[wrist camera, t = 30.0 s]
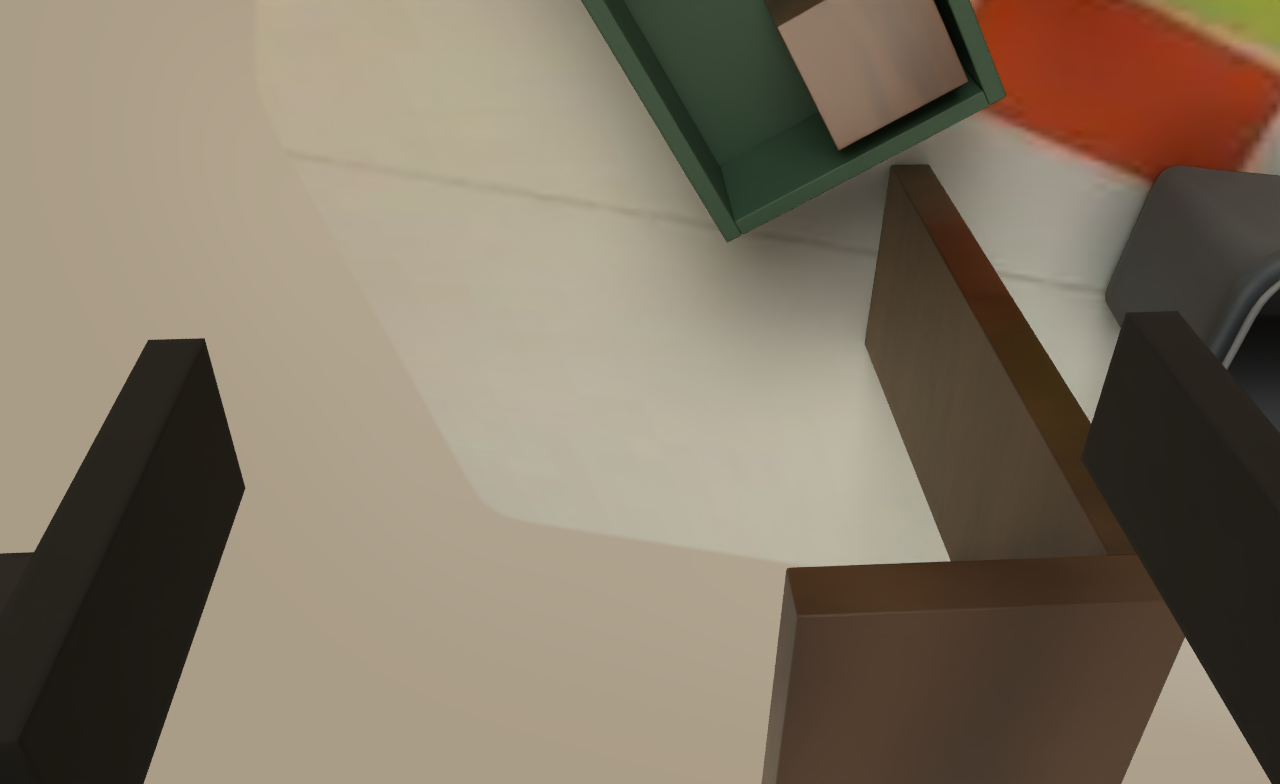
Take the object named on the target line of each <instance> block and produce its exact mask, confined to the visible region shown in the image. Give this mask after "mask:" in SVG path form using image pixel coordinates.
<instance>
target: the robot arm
mask: <svg viewBox="0 0 1280 784" xmlns="http://www.w3.org/2000/svg"><path fill="white" fill-rule="evenodd" d="M1081 460H1082V462H1083V464H1084V466H1085V467H1086V469H1087V471H1088V472H1089V474H1090V476H1091V477H1092V479H1093V481H1094V483H1095V484H1096V486H1097V488H1098V489H1099V491H1100V493H1101V494H1102V496H1103V498H1104V500H1105V501H1106V503H1107V505H1108V506H1109V508H1110V510H1111V511H1112V513H1113V515H1114V517H1115V518H1116V520H1117V522H1118V523H1119V525H1120V527H1121V528H1122V530H1123V532H1124V534H1125V535H1126V537H1127V539H1128V540H1129V542H1130V544H1131V545H1132V547H1133V549H1134V551H1135V552H1136V554H1137V556H1138V557H1139V559H1140V561H1141V562H1142V564H1143V566H1144V567H1145V569H1146V571H1147V573H1148V574H1149V576H1150V578H1151V579H1152V581H1153V583H1154V584H1155V586H1156V588H1157V590H1158V591H1159V593H1160V595H1161V596H1162V598H1163V600H1164V601H1165V603H1166V605H1167V607H1168V608H1169V610H1170V612H1171V613H1172V615H1173V617H1174V618H1175V620H1176V622H1177V624H1178V625H1179V627H1180V629H1181V630H1182V632H1183V634H1184V635H1185V637H1186V639H1187V641H1188V642H1189V644H1190V646H1191V647H1192V649H1193V651H1194V652H1195V654H1196V656H1197V658H1198V659H1199V661H1200V663H1201V664H1202V666H1203V668H1204V669H1205V671H1206V673H1207V674H1208V676H1209V678H1210V680H1211V681H1212V683H1213V685H1214V686H1215V688H1216V690H1217V691H1218V693H1219V695H1220V697H1221V698H1222V700H1223V701H1224V703H1225V705H1226V707H1227V708H1228V710H1229V712H1230V714H1231V715H1232V717H1233V719H1234V720H1235V722H1236V724H1237V725H1238V727H1239V729H1240V731H1241V732H1242V734H1243V736H1244V737H1245V739H1246V741H1247V742H1248V744H1249V746H1250V747H1251V749H1252V751H1253V753H1254V754H1255V756H1256V757H1257V759H1258V761H1259V763H1260V764H1261V766H1262V768H1263V769H1264V771H1265V773H1266V775H1267V776H1268V778H1269V780H1270V781H1271V783H1272V784H1280V433H1279V431H1278V430H1277V429H1276V428H1275V427H1274V426H1273V424H1272V423H1271V422H1270V421H1269V420H1268V418H1267V417H1266V416H1265V415H1264V414H1263V412H1262V411H1261V410H1260V409H1259V408H1258V406H1257V405H1256V404H1255V403H1254V402H1253V400H1252V399H1251V398H1250V397H1249V396H1248V395H1247V393H1246V392H1245V391H1244V390H1243V389H1242V387H1241V386H1240V385H1239V384H1238V383H1237V381H1236V380H1235V379H1234V378H1233V377H1232V375H1231V374H1230V373H1229V372H1228V371H1227V369H1226V368H1225V367H1224V366H1223V365H1222V363H1221V362H1220V361H1219V360H1218V359H1217V358H1216V356H1215V355H1214V354H1213V353H1212V352H1211V350H1210V349H1209V348H1208V347H1207V346H1206V344H1205V343H1204V342H1203V341H1202V340H1201V338H1200V337H1199V336H1198V335H1197V334H1196V332H1195V331H1194V330H1193V329H1192V328H1191V327H1190V325H1189V324H1188V323H1187V322H1186V321H1185V319H1184V318H1183V317H1182V316H1181V315H1180V313H1179V312H1178V311H1162V312H1126V314H1125V317H1124V321H1123V324H1122V327H1121V330H1120V334H1119V337H1118V340H1117V343H1116V347H1115V350H1114V353H1113V356H1112V359H1111V363H1110V366H1109V369H1108V372H1107V376H1106V379H1105V382H1104V385H1103V389H1102V392H1101V395H1100V398H1099V401H1098V405H1097V408H1096V411H1095V414H1094V418H1093V421H1092V424H1091V427H1090V431H1089V434H1088V437H1087V440H1086V443H1085V447H1084V450H1083V453H1082V456H1081ZM244 490H245V485H244V482H243V478H242V474H241V471H240V468H239V464H238V460H237V456H236V452H235V449H234V445H233V441H232V438H231V434H230V431H229V427H228V423H227V419H226V416H225V412H224V408H223V405H222V401H221V397H220V394H219V390H218V386H217V383H216V379H215V375H214V372H213V368H212V364H211V361H210V357H209V354H208V350H207V346H206V342H205V339H170V340H169V339H167V340H148V342H147V344H146V345H145V347H144V349H143V351H142V353H141V355H140V357H139V358H138V360H137V362H136V364H135V366H134V368H133V370H132V371H131V373H130V375H129V377H128V379H127V381H126V383H125V384H124V386H123V388H122V390H121V392H120V394H119V395H118V397H117V399H116V401H115V403H114V405H113V407H112V409H111V410H110V413H109V414H108V416H107V418H106V420H105V422H104V424H103V425H102V427H101V429H100V431H99V433H98V435H97V436H96V438H95V440H94V442H93V444H92V446H91V448H90V450H89V451H88V453H87V455H86V457H85V459H84V461H83V463H82V465H81V466H80V468H79V470H78V472H77V474H76V476H75V478H74V479H73V481H72V483H71V485H70V487H69V489H68V491H67V492H66V494H65V496H64V498H63V500H62V502H61V503H60V505H59V507H58V509H57V511H56V513H55V515H54V516H53V518H52V520H51V522H50V524H49V526H48V528H47V530H46V531H45V533H44V535H43V537H42V539H41V541H40V543H39V544H38V546H37V548H36V550H35V552H31V553H6V554H5V553H3V554H0V784H143V783H144V780H145V778H146V775H147V772H148V769H149V766H150V763H151V760H152V757H153V754H154V751H155V749H156V746H157V743H158V740H159V737H160V734H161V731H162V728H163V725H164V723H165V720H166V717H167V713H168V711H169V708H170V705H171V702H172V699H173V696H174V693H175V691H176V688H177V684H178V682H179V679H180V676H181V673H182V670H183V667H184V664H185V661H186V658H187V656H188V653H189V650H190V647H191V644H192V641H193V638H194V635H195V632H196V630H197V627H198V624H199V621H200V618H201V615H202V612H203V609H204V606H205V603H206V601H207V598H208V594H209V592H210V589H211V586H212V583H213V580H214V577H215V574H216V571H217V569H218V566H219V563H220V560H221V557H222V554H223V551H224V548H225V545H226V542H227V540H228V537H229V534H230V531H231V528H232V525H233V522H234V519H235V516H236V513H237V511H238V508H239V505H240V502H241V499H242V496H243V493H244Z"/></svg>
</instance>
